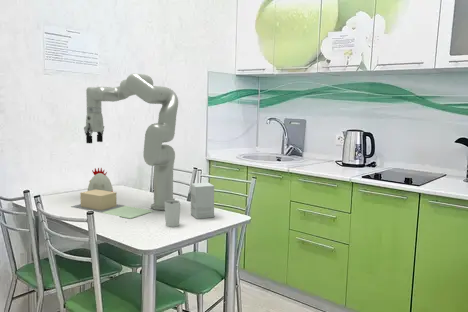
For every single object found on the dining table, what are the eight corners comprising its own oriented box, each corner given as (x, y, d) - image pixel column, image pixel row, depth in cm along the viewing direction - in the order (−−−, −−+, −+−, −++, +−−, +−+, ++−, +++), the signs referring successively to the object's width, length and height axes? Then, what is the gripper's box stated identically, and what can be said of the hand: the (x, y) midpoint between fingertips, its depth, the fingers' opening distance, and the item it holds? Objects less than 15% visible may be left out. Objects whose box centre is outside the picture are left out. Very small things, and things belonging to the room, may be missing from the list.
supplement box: (208, 212, 196) (208, 182, 195) (214, 217, 188) (214, 185, 186) (190, 214, 193) (190, 183, 191) (195, 219, 185) (195, 186, 183)
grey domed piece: (89, 191, 240) (89, 166, 239) (114, 190, 243) (113, 165, 241) (85, 196, 227) (85, 169, 225) (111, 195, 229) (110, 169, 228)
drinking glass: (161, 224, 174) (161, 202, 173) (171, 221, 180) (172, 199, 179) (173, 227, 171) (173, 204, 170) (183, 224, 176) (183, 201, 175)
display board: (153, 211, 196) (153, 210, 196) (130, 219, 182) (130, 218, 182) (95, 201, 215) (95, 200, 215) (70, 207, 201) (70, 206, 201)
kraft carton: (116, 206, 204) (116, 192, 203) (101, 210, 195) (101, 196, 194) (96, 202, 210) (96, 189, 209) (80, 206, 201) (80, 192, 201)
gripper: (90, 110, 208) (91, 144, 211) (109, 110, 225) (109, 141, 227) (78, 110, 210) (78, 143, 212) (97, 110, 227) (97, 141, 229)
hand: (94, 142), depth 220 cm, fingers open, 9 cm apart
